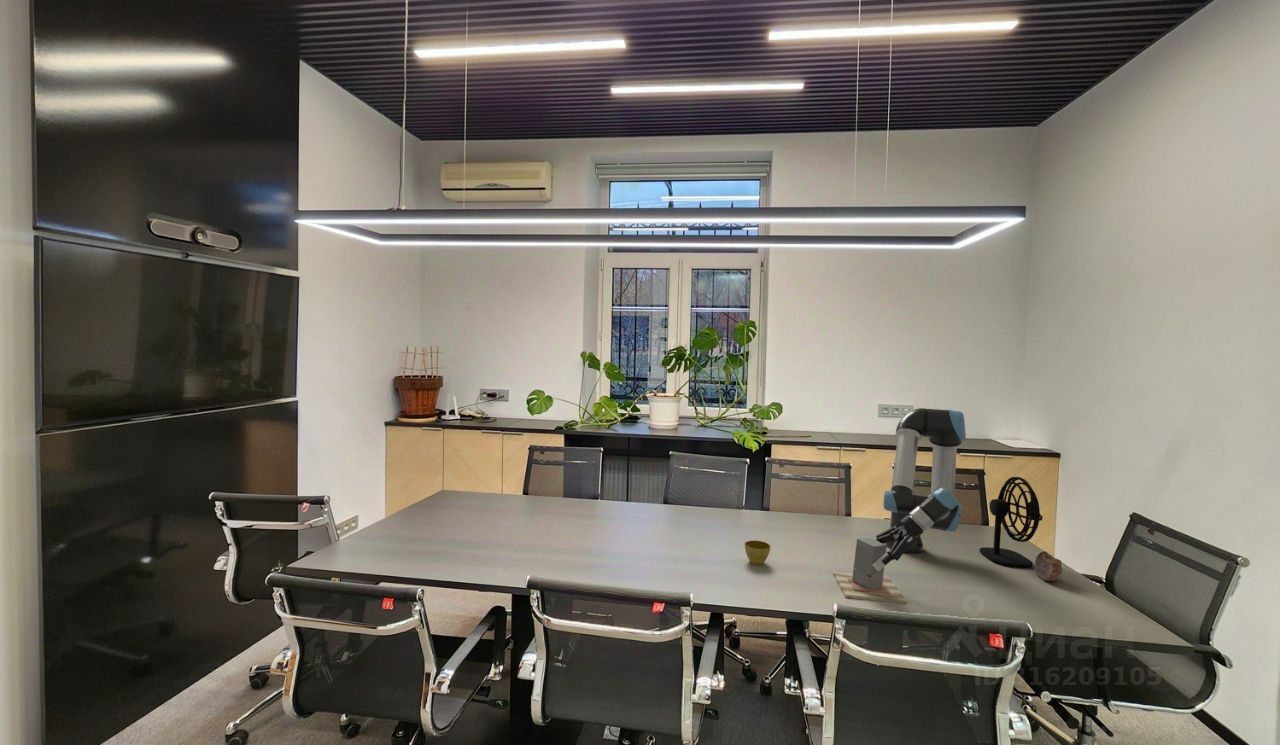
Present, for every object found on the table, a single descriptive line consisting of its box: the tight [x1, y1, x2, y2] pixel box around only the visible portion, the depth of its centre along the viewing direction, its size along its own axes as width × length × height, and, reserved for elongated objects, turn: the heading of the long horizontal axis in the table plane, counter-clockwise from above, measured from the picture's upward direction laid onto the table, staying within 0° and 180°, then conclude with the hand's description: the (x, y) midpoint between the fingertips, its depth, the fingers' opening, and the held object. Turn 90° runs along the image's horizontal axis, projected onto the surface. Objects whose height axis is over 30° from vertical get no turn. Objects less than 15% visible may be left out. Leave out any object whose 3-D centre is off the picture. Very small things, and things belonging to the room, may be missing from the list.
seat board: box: [832, 571, 907, 604], centre depth 199 cm, size 20×20×1 cm
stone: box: [1034, 550, 1064, 582], centre depth 213 cm, size 13×8×10 cm
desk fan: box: [979, 476, 1043, 568], centre depth 233 cm, size 27×18×35 cm, turn 173°
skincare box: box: [852, 537, 888, 590], centre depth 198 cm, size 8×7×16 cm
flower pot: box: [744, 540, 772, 566], centre depth 220 cm, size 10×10×7 cm
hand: (869, 561), depth 198 cm, fingers open, 13 cm apart
